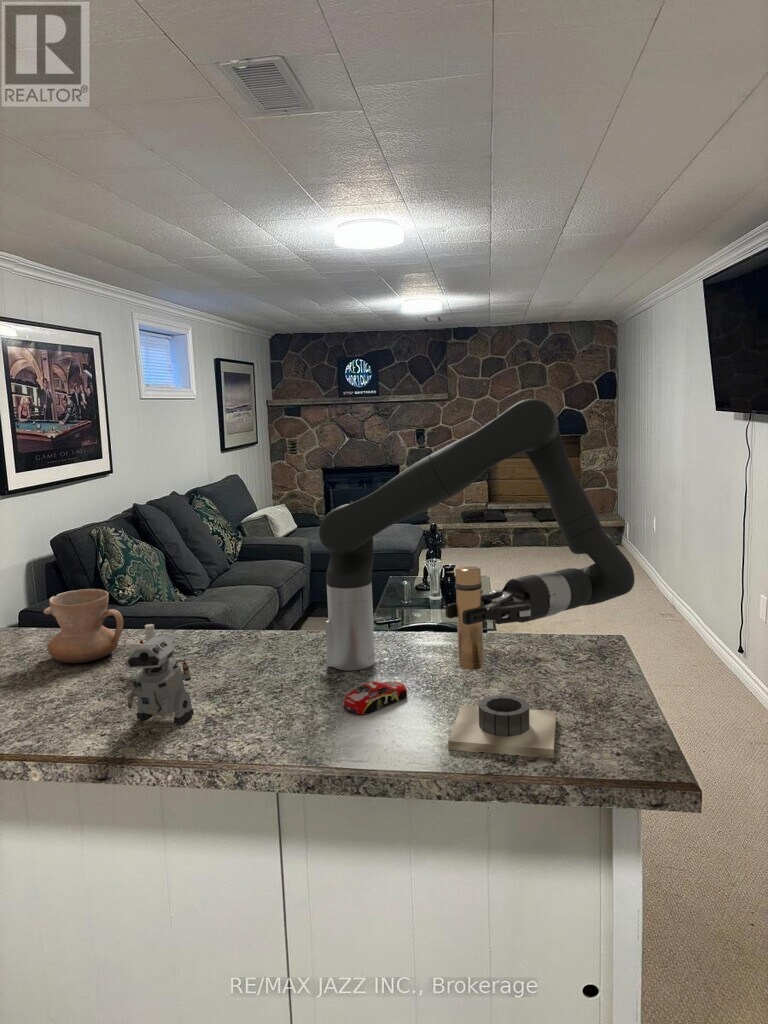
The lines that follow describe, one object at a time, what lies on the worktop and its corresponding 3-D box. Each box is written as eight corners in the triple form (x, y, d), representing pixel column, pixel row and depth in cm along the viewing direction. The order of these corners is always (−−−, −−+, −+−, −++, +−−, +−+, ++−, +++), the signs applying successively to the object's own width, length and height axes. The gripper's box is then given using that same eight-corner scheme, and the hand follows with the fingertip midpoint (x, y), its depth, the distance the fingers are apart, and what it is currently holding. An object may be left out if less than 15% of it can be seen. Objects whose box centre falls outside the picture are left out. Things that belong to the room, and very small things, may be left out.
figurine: (115, 735, 127) (107, 649, 125) (156, 708, 138) (150, 629, 136) (161, 741, 124) (153, 654, 122) (199, 713, 135) (193, 632, 133)
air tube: (456, 669, 121) (452, 572, 119) (460, 660, 125) (456, 566, 123) (482, 670, 120) (479, 572, 118) (485, 661, 124) (482, 566, 122)
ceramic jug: (29, 667, 162) (23, 603, 160) (68, 645, 176) (63, 586, 174) (107, 671, 159) (102, 606, 157) (140, 648, 173) (135, 588, 171)
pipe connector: (117, 677, 154) (113, 630, 153) (149, 661, 163) (145, 616, 162) (157, 683, 150) (153, 634, 149) (187, 666, 160) (184, 620, 158)
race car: (393, 690, 143) (393, 670, 143) (413, 698, 139) (412, 677, 138) (338, 710, 134) (338, 689, 134) (358, 719, 130) (357, 697, 130)
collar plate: (448, 750, 117) (447, 719, 117) (461, 713, 131) (461, 685, 130) (553, 758, 113) (553, 727, 113) (556, 719, 127) (556, 691, 126)
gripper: (509, 567, 134) (429, 583, 125) (566, 582, 122) (482, 601, 113) (510, 608, 135) (430, 627, 126) (567, 627, 123) (484, 649, 114)
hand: (455, 615), depth 120 cm, fingers closed on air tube, 4 cm apart
